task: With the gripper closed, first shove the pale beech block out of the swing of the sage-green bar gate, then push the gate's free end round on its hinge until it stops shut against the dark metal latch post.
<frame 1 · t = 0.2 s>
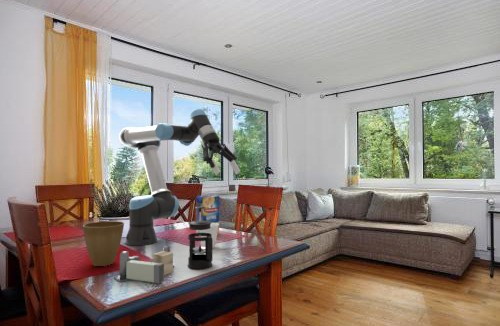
hand: (228, 173, 141), 36 cm above the table, tool tilted 35°, fingers open, 13 cm apart
cup: (208, 247, 149), on the table
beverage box: (207, 235, 176), on the table
hinge post: (124, 278, 107), on the table
gate: (144, 271, 105), point 3 cm above the table, hinge at -65.0°
latch post: (166, 267, 119), on the table
french press: (200, 266, 121), on the table
block: (162, 272, 114), on the table
plant pot: (103, 264, 124), on the table
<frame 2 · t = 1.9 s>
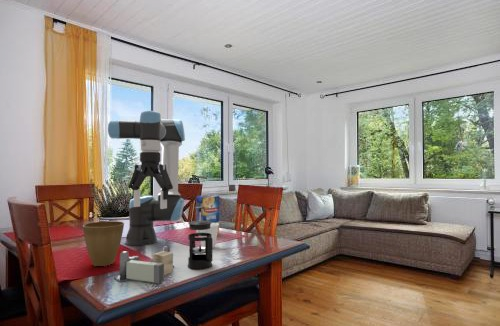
hand: (149, 207, 119), 23 cm above the table, tool pointing down, fingers open, 13 cm apart
nothing on the table moved.
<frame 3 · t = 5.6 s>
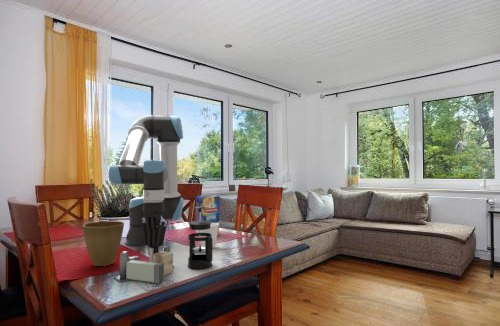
hand: (153, 264, 116), 2 cm above the table, tool pointing down, fingers closed
block: (162, 272, 114), on the table, touching gripper
everything else where it was.
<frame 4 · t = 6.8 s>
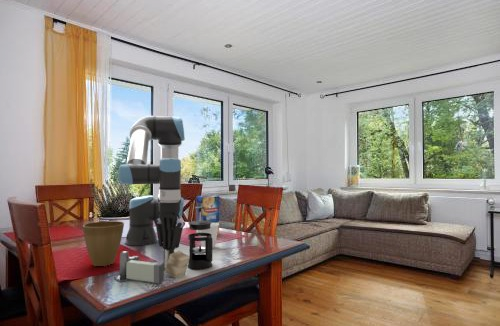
hand: (168, 267, 112), 3 cm above the table, tool pointing down, fingers closed
block: (174, 273, 110), point 1 cm above the table, tilted 19°, touching gripper
everything else where it was.
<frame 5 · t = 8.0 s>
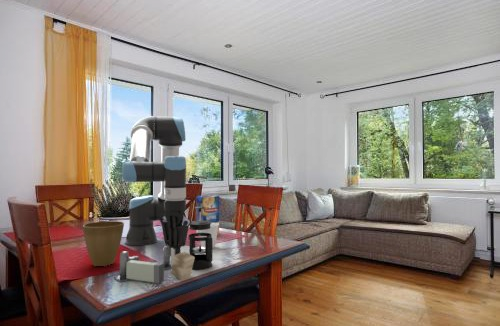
hand: (174, 265, 111), 3 cm above the table, tool pointing down, fingers closed
block: (180, 274, 109), point 1 cm above the table, tilted 16°, touching gripper
everything else where it was.
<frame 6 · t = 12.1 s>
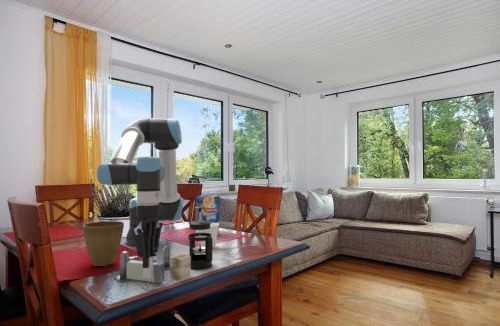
hand: (147, 276, 101), 3 cm above the table, tool pointing down, fingers closed
gate: (145, 270, 105), point 3 cm above the table, hinge at -64.0°, touching gripper
block: (180, 276, 110), on the table
everything else where it was.
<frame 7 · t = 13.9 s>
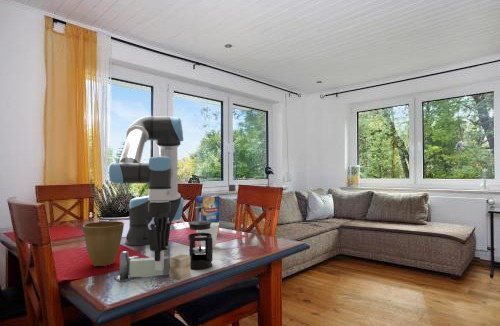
hand: (159, 269, 107), 3 cm above the table, tool pointing down, fingers closed
gate: (150, 266, 109), point 4 cm above the table, hinge at -33.4°, touching gripper
everything else where it was.
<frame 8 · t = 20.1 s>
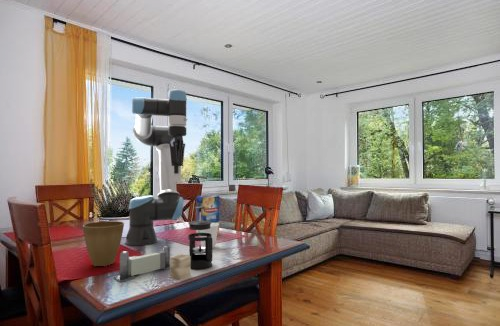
hand: (177, 181, 134), 32 cm above the table, tool pointing down, fingers closed
gate: (147, 263, 113), point 4 cm above the table, hinge at -0.7°
everything else where it was.
at the end: gate at -1° (first picture: -65°); block moved 8.4 cm from its start; block touching table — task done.
